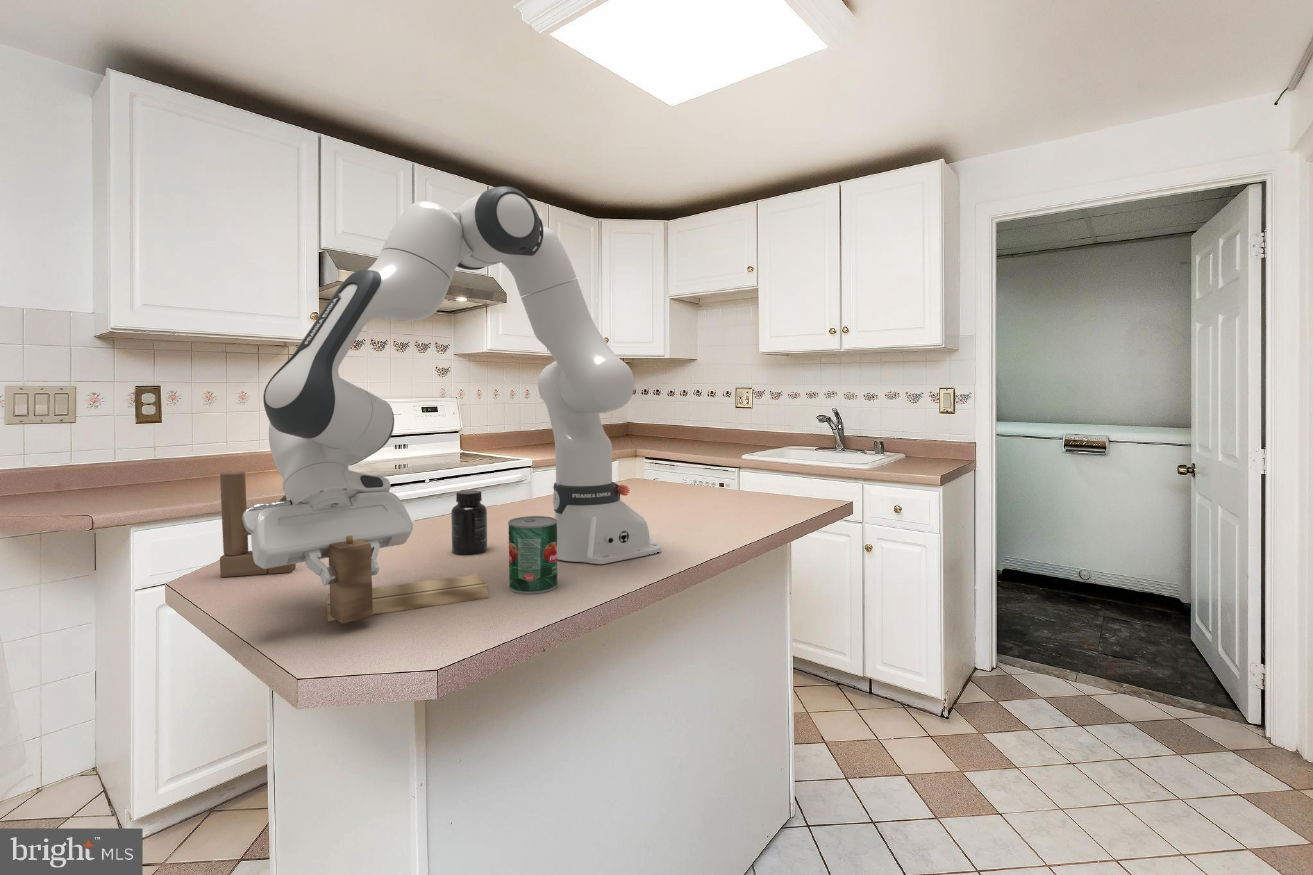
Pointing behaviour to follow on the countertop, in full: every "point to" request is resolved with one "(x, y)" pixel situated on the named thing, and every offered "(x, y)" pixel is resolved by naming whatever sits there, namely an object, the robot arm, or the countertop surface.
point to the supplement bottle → (469, 523)
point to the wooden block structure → (239, 530)
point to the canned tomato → (532, 554)
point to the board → (425, 594)
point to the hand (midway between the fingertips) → (352, 577)
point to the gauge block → (351, 580)
